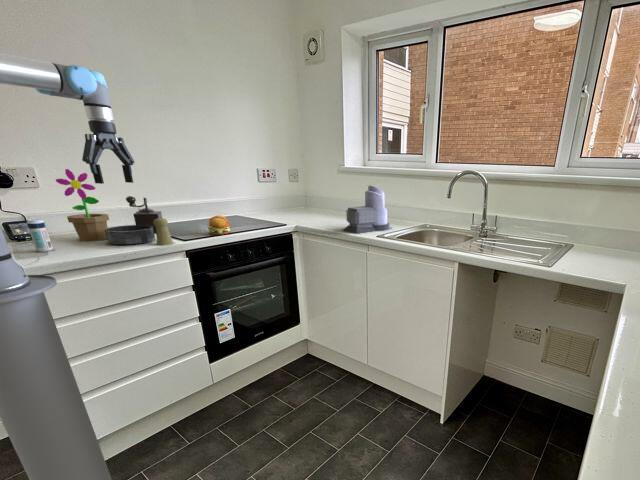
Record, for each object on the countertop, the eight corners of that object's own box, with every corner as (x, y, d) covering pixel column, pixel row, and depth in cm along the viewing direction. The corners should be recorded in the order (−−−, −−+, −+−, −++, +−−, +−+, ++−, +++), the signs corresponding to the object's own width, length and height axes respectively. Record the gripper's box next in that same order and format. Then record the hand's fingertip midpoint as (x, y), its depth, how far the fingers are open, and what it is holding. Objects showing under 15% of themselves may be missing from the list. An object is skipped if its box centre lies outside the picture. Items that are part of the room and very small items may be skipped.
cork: (161, 242, 157) (156, 217, 153) (175, 242, 158) (170, 217, 154) (154, 245, 152) (148, 219, 148) (169, 245, 152) (163, 219, 148)
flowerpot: (69, 242, 151) (45, 168, 140) (79, 236, 162) (58, 167, 151) (110, 240, 157) (91, 169, 146) (117, 234, 169) (99, 168, 158)
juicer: (377, 224, 220) (377, 184, 211) (396, 228, 210) (397, 185, 202) (340, 230, 199) (339, 185, 190) (359, 234, 189) (358, 187, 180)
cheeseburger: (226, 230, 186) (225, 212, 181) (234, 238, 181) (233, 220, 176) (205, 232, 180) (204, 213, 175) (213, 240, 174) (212, 221, 169)
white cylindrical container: (51, 248, 140) (41, 218, 136) (55, 250, 138) (44, 220, 133) (35, 250, 137) (24, 219, 132) (38, 252, 134) (27, 221, 130)
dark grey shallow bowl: (135, 246, 148) (132, 232, 146) (97, 244, 149) (93, 230, 147) (164, 238, 164) (161, 225, 162) (129, 237, 165) (126, 224, 163)
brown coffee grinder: (140, 229, 182) (131, 193, 175) (165, 228, 186) (157, 193, 180) (132, 235, 169) (123, 196, 162) (159, 234, 173) (151, 196, 167)
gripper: (119, 125, 138) (131, 181, 145) (57, 115, 114) (75, 183, 122) (137, 125, 137) (149, 182, 145) (78, 116, 114) (95, 184, 121)
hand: (115, 183), depth 133 cm, fingers open, 13 cm apart
